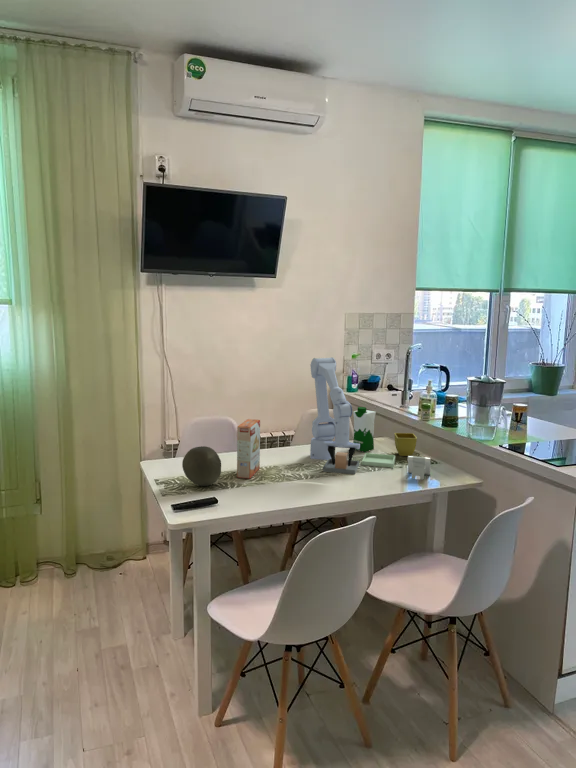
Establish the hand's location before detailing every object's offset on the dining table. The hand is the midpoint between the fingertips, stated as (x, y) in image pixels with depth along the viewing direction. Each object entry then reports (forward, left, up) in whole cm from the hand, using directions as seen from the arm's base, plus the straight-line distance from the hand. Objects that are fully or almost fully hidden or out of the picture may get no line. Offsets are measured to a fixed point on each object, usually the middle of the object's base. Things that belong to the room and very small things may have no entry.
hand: (341, 464), depth 237 cm
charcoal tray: (0, 0, -2) cm, 2 cm away
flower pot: (+24, +29, -2) cm, 38 cm away
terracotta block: (0, 0, -1) cm, 1 cm away
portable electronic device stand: (+31, 0, -2) cm, 31 cm away
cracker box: (-35, -15, -2) cm, 38 cm away
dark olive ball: (-47, -34, -2) cm, 58 cm away
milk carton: (+5, +33, -2) cm, 33 cm away
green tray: (+14, +13, -2) cm, 19 cm away
